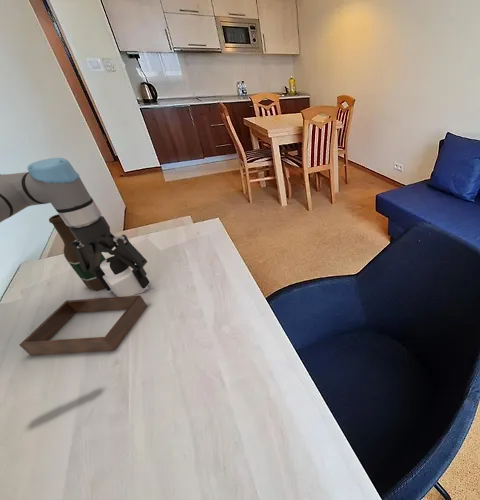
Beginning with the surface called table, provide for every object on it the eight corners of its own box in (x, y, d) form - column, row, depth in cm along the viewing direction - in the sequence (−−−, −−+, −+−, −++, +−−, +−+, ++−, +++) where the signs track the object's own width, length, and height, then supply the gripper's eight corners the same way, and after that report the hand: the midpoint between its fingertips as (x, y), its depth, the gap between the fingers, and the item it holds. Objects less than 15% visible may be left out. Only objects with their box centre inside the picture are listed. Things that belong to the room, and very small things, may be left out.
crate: (33, 358, 73) (18, 344, 70) (76, 313, 85) (66, 300, 82) (116, 352, 72) (105, 339, 69) (148, 308, 84) (140, 295, 81)
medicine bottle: (139, 281, 95) (119, 249, 88) (149, 289, 91) (130, 257, 84) (114, 294, 90) (92, 262, 83) (124, 303, 87) (102, 270, 80)
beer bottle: (86, 284, 95) (35, 218, 81) (114, 272, 100) (70, 207, 86) (92, 295, 91) (39, 226, 77) (121, 282, 95) (76, 214, 81)
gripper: (137, 210, 80) (171, 275, 92) (54, 217, 80) (100, 280, 93) (119, 224, 73) (159, 292, 86) (30, 231, 74) (83, 297, 87)
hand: (128, 286), depth 90 cm, fingers open, 10 cm apart
